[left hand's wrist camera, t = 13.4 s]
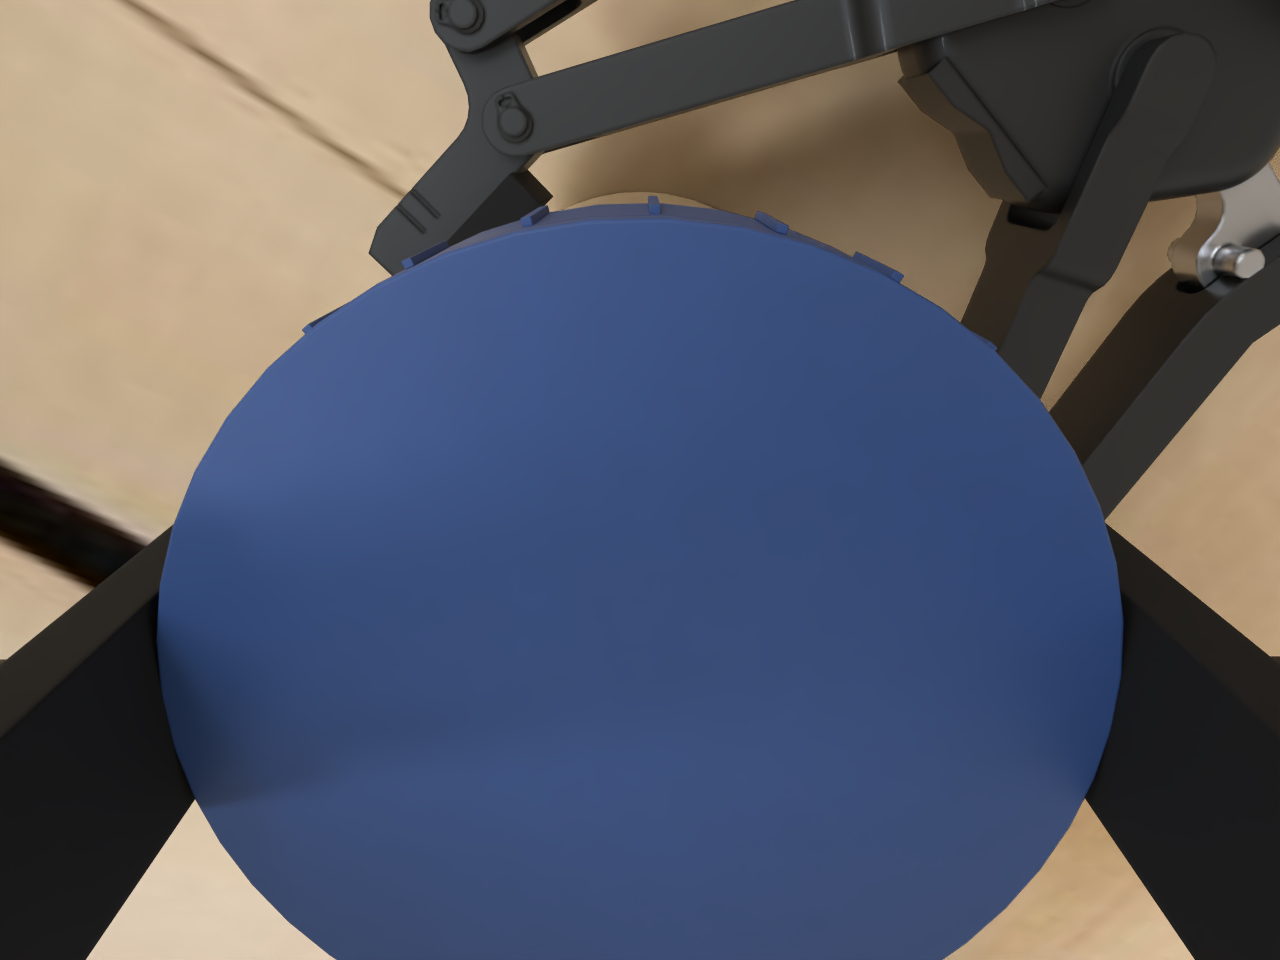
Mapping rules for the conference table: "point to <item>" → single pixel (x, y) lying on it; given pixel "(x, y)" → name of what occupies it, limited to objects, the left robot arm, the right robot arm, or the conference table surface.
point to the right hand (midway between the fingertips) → (503, 565)
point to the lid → (640, 607)
